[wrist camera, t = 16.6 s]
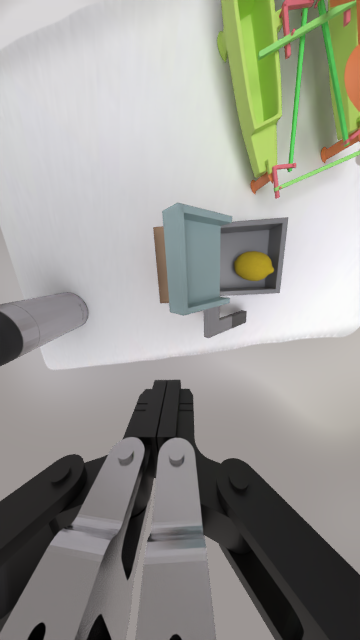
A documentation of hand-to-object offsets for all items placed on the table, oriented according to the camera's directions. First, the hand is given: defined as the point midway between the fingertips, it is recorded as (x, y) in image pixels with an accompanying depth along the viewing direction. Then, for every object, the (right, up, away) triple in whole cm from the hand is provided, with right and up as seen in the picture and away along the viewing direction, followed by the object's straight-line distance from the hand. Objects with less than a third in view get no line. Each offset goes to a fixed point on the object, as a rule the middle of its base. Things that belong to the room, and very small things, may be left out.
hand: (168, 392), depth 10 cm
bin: (+14, +17, +27) cm, 35 cm away
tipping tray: (+6, +11, +18) cm, 22 cm away
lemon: (+18, +13, +21) cm, 31 cm away
